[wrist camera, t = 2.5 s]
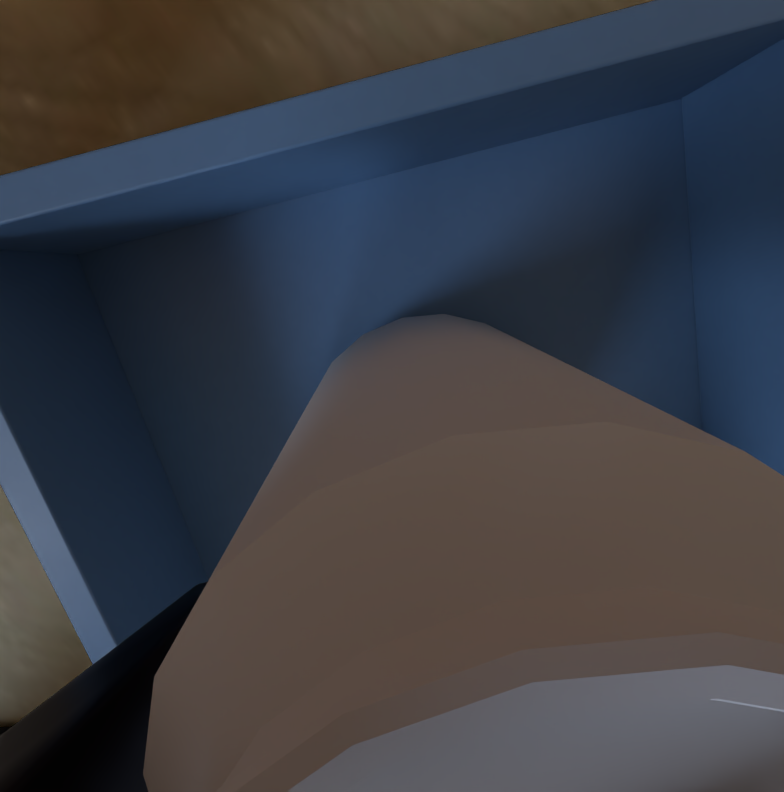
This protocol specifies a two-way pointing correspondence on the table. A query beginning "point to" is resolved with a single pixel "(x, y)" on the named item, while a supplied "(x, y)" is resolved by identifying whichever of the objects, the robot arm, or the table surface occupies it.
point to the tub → (383, 272)
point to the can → (484, 592)
